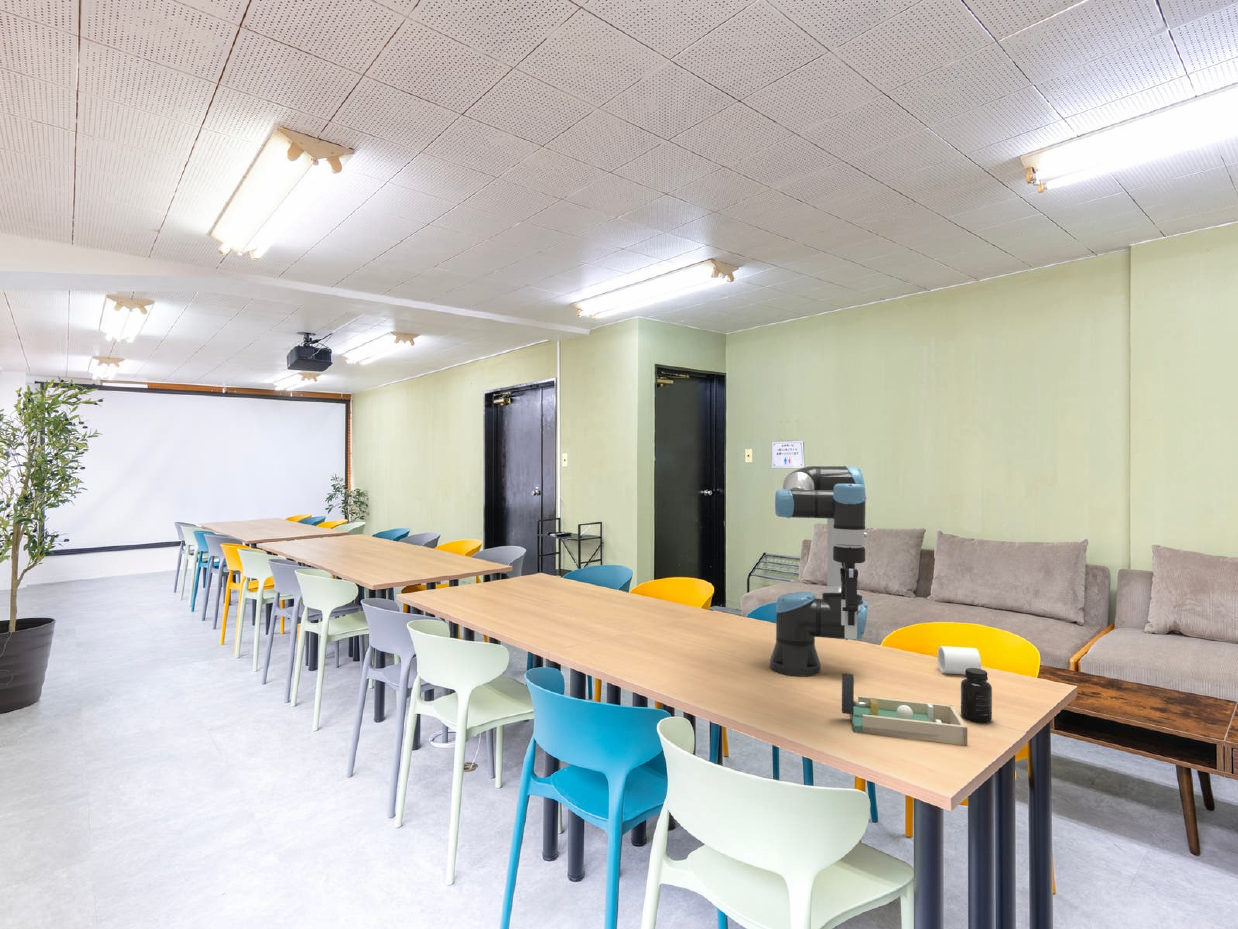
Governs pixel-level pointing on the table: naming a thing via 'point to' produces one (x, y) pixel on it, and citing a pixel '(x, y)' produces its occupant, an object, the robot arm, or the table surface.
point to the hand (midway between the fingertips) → (848, 631)
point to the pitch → (911, 721)
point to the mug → (957, 659)
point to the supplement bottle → (976, 696)
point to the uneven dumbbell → (848, 697)
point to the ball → (904, 712)
